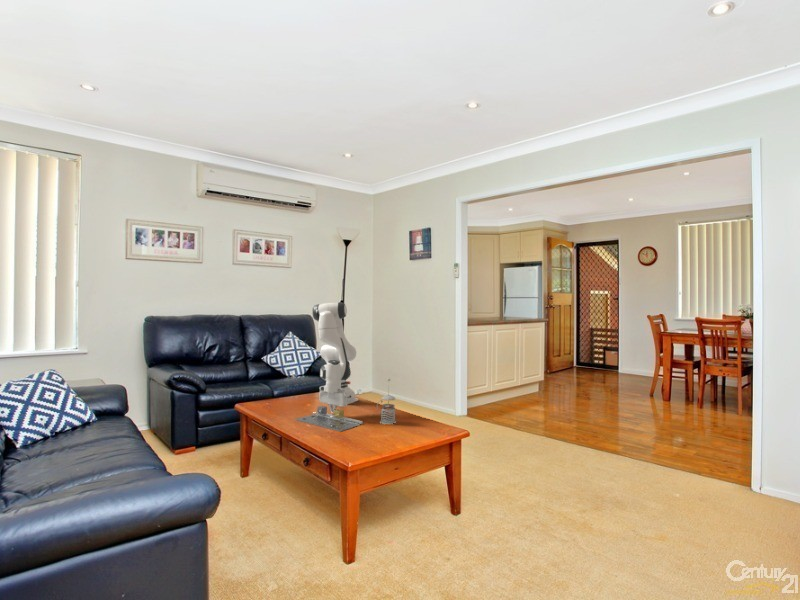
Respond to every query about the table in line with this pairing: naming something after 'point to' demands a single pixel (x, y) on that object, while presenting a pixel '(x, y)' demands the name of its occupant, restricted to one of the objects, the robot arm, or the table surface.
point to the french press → (387, 419)
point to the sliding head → (338, 413)
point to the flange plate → (327, 422)
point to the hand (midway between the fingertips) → (333, 412)
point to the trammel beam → (323, 412)
